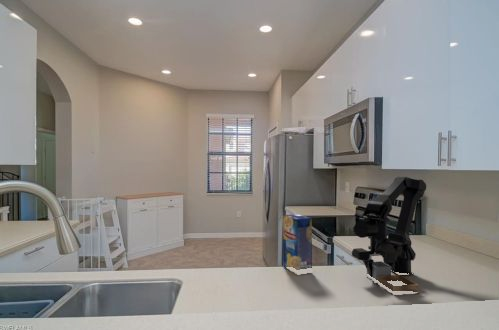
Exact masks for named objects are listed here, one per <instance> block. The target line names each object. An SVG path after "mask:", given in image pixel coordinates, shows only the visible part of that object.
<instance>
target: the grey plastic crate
mask: <svg viewBox="0 0 499 330" xmlns="http://www.w3.org/2000/svg"><path fill="white" fill-rule="evenodd" d="M372 269H373V275H372V277H373V278H375V279H376V280H377V276H389V275H392V271H391V266H389V265H388V264H386V263H384V261H383V260H382V261H381V260H380V261H374V262H373V263H372ZM367 274H369V273H368V271H367V270H366V275H367Z"/></svg>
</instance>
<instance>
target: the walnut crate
mask: <svg viewBox="0 0 499 330" xmlns="http://www.w3.org/2000/svg"><path fill="white" fill-rule="evenodd" d="M377 280H378V281H379V282H380V283H382V284H383V285H385V286H386V287H388V288H389V289H391V290H392V291H413V292H418V291H419V292H420V285H419V284H418V283H417V282H414V281H412V280H411V279H409V278H407V277H405V276H404V275H403V276H402V275H397V274H391V275H389V276H377ZM391 280H392V281H397V280H398V281H402V282H403V283H405V284H407V285H402V286H393V285H392V284H390V283H388V282H387V281H391Z"/></svg>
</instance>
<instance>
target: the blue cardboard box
mask: <svg viewBox="0 0 499 330" xmlns="http://www.w3.org/2000/svg"><path fill="white" fill-rule="evenodd" d="M282 216H283V218H282V219H283V223H282V224H283V226H282V227H283V229H282V230H283V233H282V235H283V237H282V238H283V249H282V250H283V251H282V253H283V257H282V258H283V268H284V267H293V268H295V269H296V270H300V269H307V268H312V269H313V237H312V236H313V233H312V232H313V231H312V230H313V226H312V225H313V223H312V222H313V221H312V220H313V219H312V217H310V216H305V215H303V214H298V213H295V214H293V213H292V214H283V215H282Z"/></svg>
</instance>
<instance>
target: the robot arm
mask: <svg viewBox="0 0 499 330" xmlns="http://www.w3.org/2000/svg"><path fill="white" fill-rule="evenodd" d="M426 189H427V183H426V182H425V181H424V180H423V179H417V178H416V179H415V178H410V177H408V176H396V177H395V178H394V180H393V181H392V182H391V183H390V185H389V186H388V187H387V188H386V189H385V190H384V191H383V192H382V194H380V195H378V196H374V197H372V199H370V200H369V201H368V202H367V204H366V205H365V206H366V207H364V208H365V209H364V211H363V213H362V215H361V217H359V218H358V221H357V222H356V223H355V224H354V227H353V230H354V233H355V235H356V236H357V237H359V238H363V239H364V238H368V239H369V241H370V243H369V245H368V247H367V248H368V250H367V249H364V248H362V247H361V248H360V247H358V248H356V247H355V248H353V249H352V250H351V257H353V258H355V259H357V260H358V261H362V262H363V264H364V266H365V269H366V272H367V271H368V273H369V275H370V276H371V277H372V275H373V269H372V263H373V262H375V260H374V259H373V257H376V256H377V257H379V256H380V257H382V262H384V263H386V264H388V265H389V266H391V270H392V271H394V272H399V273H407V274H408V273H409V274H412V273H413V274H414V275H415V273H414V272H412V261H413V262H414V261H415V259H416V255H417V254H416V252H415V250H414V249H413V247H412V239H411V237H410V230H411V228H412V224H413V219H414V215H415V211H416V207H417V203H418V201H419V200H420V199H422V197H423V196H424V195H425V191H427V190H426ZM400 195H402V196H403V199H402V203H401V208H400V212H399V214H398V218H397V222H396V227H395V229H394V231H393V232H388V228H387V227H388V222H390V221H391V220H390V218H388V216H389V215H390V213H391V211H392V209H393V203H394V202H395V201H396V200H397V199H398V197H400ZM392 271H391V272H392ZM394 272H393V273H394Z"/></svg>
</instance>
